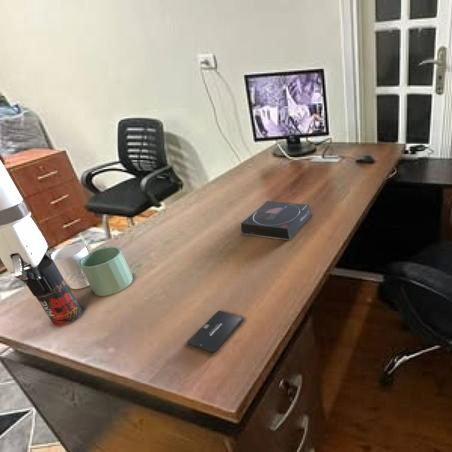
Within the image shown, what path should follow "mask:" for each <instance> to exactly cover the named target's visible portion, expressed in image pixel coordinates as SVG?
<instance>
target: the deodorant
mask: <svg viewBox="0 0 452 452" xmlns="http://www.w3.org/2000/svg"><path fill="white" fill-rule="evenodd" d="M29 266H31V264H26V265H24V268H25V267H29ZM37 266H38V269H39V272H40V275H41V277H43V276H44V278H45V279H46V281H47V283H48V284H49V286H50V288H51V289H52V291H51V292H50V293H47V294H44V295H40V296H35V298H36V299H37V301H38V303H39V304H40V306H41V307H42V309H43V311H44V312H45V313H46V315H47V316H48V318H49V319H50V321H51V323H52V324H53V325H54V326H55V327H63V326H68V325H70V324H71V323H74V322H75V321H76V320H78V319H80V317H81V316H82V314H83V309H82V308H81V306H80V304H79V303H78V301H77V299H76V298H75V295H74V294H73V293H72V290H71V288H70V286H69V284H68V283H67V282H66V280H65V279H64V278H63V277H62V275H61V273H60V272H59V270H58V268H57V267H56V265H55V263H54V261H53V260H52V259H49V258H46V259H41V261H40V263H39V264H38V265H37ZM25 271H26V272H27V273H32V274H34V272H33V269H29V270H25Z"/></svg>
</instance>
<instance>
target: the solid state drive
mask: <svg viewBox="0 0 452 452" xmlns="http://www.w3.org/2000/svg"><path fill="white" fill-rule="evenodd" d="M243 321H244V318H243V317H242V316H239V315H235V314H233V313H229V312H225V311H222V310H217V312H216V313H214V314H213V316H211V318H209V319H208V320H207V322H206V323H204V324H203V326H201V328H200V329H199V330H197V331H196V332H195V333H194V334H193V335H192V337H190V338H189V339H188V341H187V343H186V344H187V345H188V346H190V347H193V348H196V349H198V350H201V351H204V352H206V353H209V354H215V353H216V352H217V350H218V349H219V348H220V347H221V346H223V344H224V343H225V341H226V340H227V339H228V338H229V337H230V336H231V335H232V333H233V332H234V331H235V330H236V329H237V328H238V327H239V326H240V325H241V324H242V322H243Z"/></svg>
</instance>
